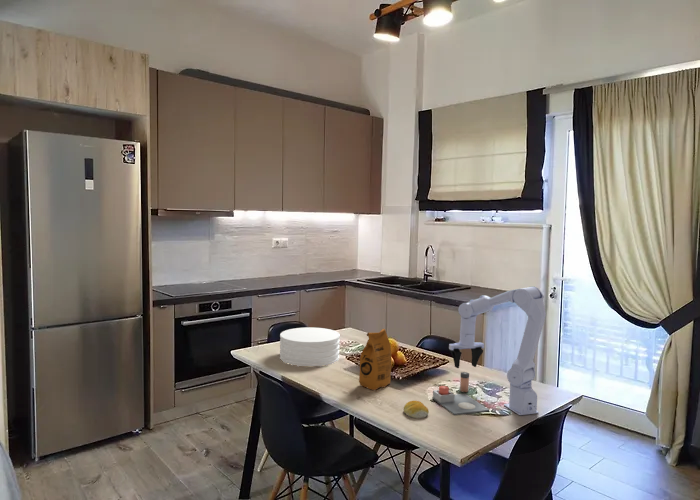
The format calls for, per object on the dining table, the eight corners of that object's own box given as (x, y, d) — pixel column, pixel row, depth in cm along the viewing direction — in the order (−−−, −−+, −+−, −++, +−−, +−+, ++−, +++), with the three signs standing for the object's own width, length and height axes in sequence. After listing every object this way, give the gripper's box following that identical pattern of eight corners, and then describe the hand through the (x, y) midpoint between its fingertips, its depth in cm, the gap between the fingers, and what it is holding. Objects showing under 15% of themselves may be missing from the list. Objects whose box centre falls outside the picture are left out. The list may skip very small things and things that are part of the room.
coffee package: (355, 385, 197) (356, 331, 195) (375, 378, 206) (377, 326, 204) (373, 391, 190) (375, 335, 188) (394, 384, 199) (395, 330, 197)
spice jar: (470, 391, 192) (470, 374, 192) (462, 392, 191) (463, 375, 191) (465, 388, 195) (466, 371, 195) (458, 389, 194) (459, 372, 194)
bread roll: (421, 407, 176) (422, 396, 176) (431, 418, 167) (431, 406, 167) (399, 409, 174) (400, 398, 174) (408, 419, 165) (408, 408, 165)
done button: (450, 396, 181) (450, 388, 181) (441, 397, 180) (441, 389, 180) (445, 393, 185) (445, 385, 185) (436, 394, 184) (437, 386, 183)
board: (489, 411, 174) (489, 402, 173) (454, 415, 169) (454, 406, 169) (465, 394, 189) (465, 387, 189) (432, 398, 185) (432, 390, 184)
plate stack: (316, 371, 213) (317, 345, 212) (267, 360, 228) (267, 335, 227) (350, 356, 237) (350, 332, 236) (303, 346, 251) (304, 324, 251)
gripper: (477, 329, 197) (475, 362, 199) (445, 331, 193) (443, 364, 194) (488, 334, 191) (485, 368, 192) (455, 335, 186) (452, 370, 188)
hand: (465, 366), depth 193 cm, fingers open, 7 cm apart
